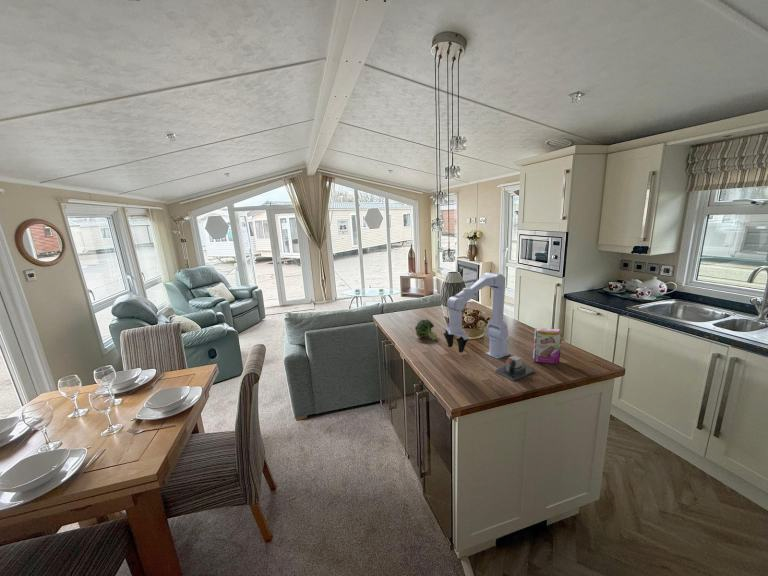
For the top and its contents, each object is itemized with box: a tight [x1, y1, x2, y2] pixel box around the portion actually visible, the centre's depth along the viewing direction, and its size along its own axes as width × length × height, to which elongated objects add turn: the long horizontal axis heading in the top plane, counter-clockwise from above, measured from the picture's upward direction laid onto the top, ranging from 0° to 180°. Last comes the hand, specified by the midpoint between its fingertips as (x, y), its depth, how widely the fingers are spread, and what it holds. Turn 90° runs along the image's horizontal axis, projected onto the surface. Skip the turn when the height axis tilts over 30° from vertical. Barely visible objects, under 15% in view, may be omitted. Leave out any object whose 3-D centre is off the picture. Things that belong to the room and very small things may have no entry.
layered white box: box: [507, 355, 523, 369], centre depth 143 cm, size 5×4×6 cm
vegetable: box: [414, 319, 438, 341], centre depth 191 cm, size 12×13×15 cm
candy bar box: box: [532, 327, 563, 365], centre depth 151 cm, size 11×5×16 cm, turn 71°
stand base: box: [495, 358, 535, 382], centre depth 143 cm, size 14×10×7 cm
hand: (455, 349), depth 148 cm, fingers open, 7 cm apart
